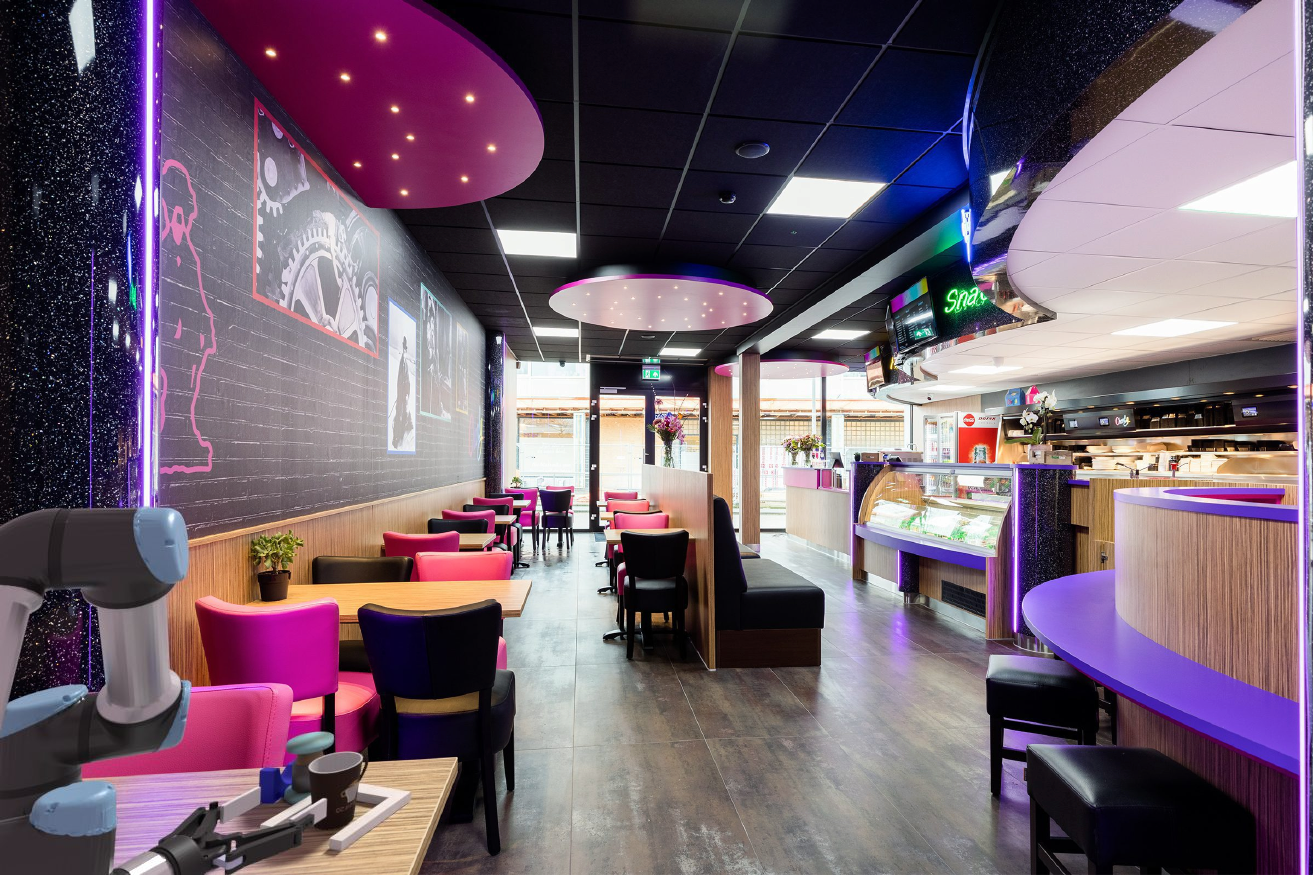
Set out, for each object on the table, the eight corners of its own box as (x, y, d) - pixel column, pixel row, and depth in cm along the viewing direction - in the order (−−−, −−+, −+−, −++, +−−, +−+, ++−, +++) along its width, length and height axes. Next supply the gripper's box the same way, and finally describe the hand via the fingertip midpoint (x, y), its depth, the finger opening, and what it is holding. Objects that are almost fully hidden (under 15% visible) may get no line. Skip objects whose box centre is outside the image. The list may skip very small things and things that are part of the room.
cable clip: (295, 773, 130) (296, 743, 130) (315, 774, 129) (316, 744, 129) (250, 803, 118) (252, 769, 118) (272, 804, 117) (274, 771, 117)
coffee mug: (317, 839, 105) (320, 778, 106) (298, 821, 111) (300, 762, 112) (385, 812, 114) (387, 755, 115) (364, 796, 120) (366, 742, 120)
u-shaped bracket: (260, 834, 107) (260, 824, 107) (337, 787, 123) (337, 779, 123) (341, 850, 102) (341, 840, 102) (410, 800, 118) (411, 791, 118)
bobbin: (274, 800, 118) (276, 745, 119) (308, 781, 126) (310, 729, 127) (308, 806, 116) (310, 750, 117) (341, 786, 124) (343, 734, 124)
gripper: (87, 891, 86) (231, 813, 106) (226, 928, 79) (352, 837, 99) (90, 834, 87) (233, 767, 107) (229, 865, 79) (354, 787, 100)
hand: (291, 800), depth 103 cm, fingers open, 13 cm apart
